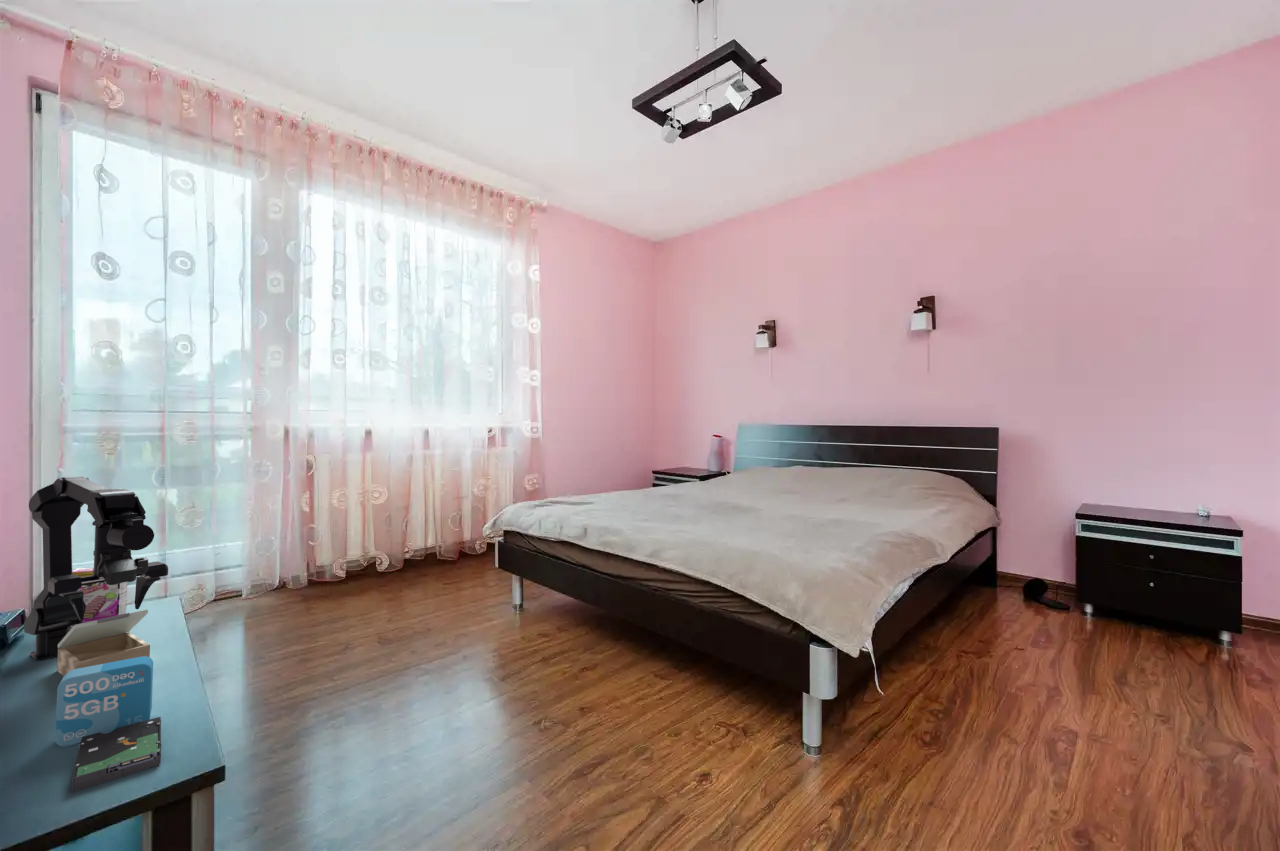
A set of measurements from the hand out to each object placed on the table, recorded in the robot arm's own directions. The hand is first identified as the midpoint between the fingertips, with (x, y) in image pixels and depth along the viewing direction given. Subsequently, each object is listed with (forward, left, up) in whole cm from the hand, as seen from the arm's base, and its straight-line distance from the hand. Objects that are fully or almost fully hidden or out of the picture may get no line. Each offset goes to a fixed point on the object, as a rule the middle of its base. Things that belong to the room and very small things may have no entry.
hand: (110, 614), depth 120 cm
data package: (+32, -8, -13) cm, 36 cm away
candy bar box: (-39, +7, -13) cm, 42 cm away
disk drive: (+44, -9, -14) cm, 47 cm away
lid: (-4, 0, -4) cm, 6 cm away
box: (-3, 0, -13) cm, 13 cm away
